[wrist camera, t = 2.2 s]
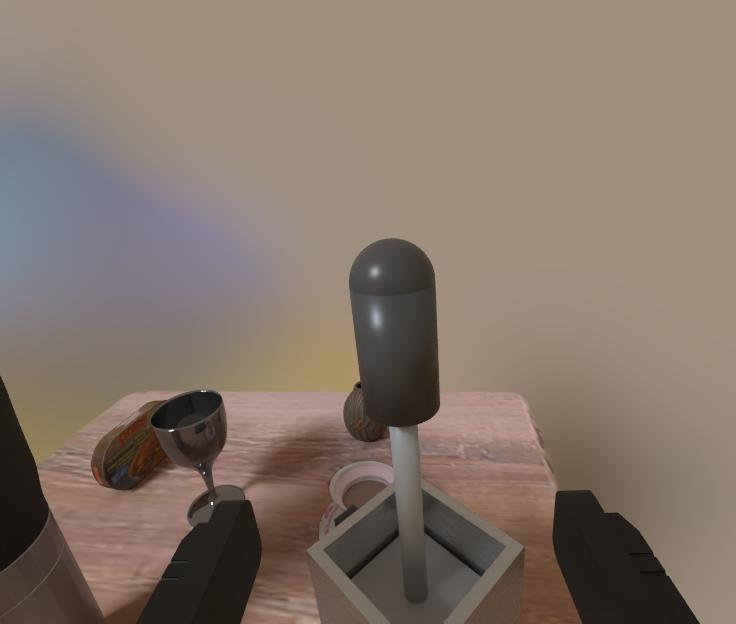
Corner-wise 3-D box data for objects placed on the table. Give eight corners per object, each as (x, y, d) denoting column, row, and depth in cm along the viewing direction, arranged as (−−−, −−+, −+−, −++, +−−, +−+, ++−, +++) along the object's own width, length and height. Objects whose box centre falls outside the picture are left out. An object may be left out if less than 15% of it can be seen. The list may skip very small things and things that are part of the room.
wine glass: (216, 540, 48) (184, 435, 43) (169, 521, 51) (134, 421, 46) (260, 491, 55) (236, 395, 49) (215, 476, 58) (189, 385, 53)
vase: (356, 417, 68) (350, 371, 65) (396, 423, 65) (392, 375, 62) (338, 443, 62) (331, 394, 59) (381, 451, 60) (375, 400, 56)
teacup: (431, 498, 51) (429, 458, 49) (406, 590, 41) (402, 544, 38) (343, 480, 55) (338, 443, 53) (300, 559, 45) (291, 516, 43)
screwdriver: (337, 598, 29) (274, 248, 20) (413, 528, 33) (389, 221, 24) (422, 696, 23) (387, 270, 14) (498, 596, 28) (508, 229, 19)
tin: (117, 504, 55) (96, 453, 52) (99, 500, 56) (77, 451, 53) (190, 433, 68) (177, 390, 65) (175, 431, 69) (161, 388, 66)
